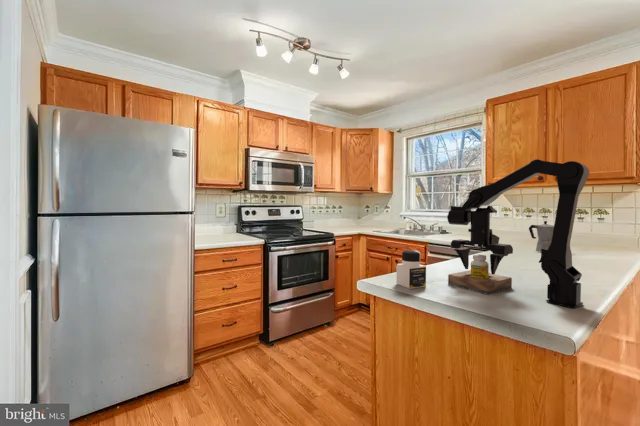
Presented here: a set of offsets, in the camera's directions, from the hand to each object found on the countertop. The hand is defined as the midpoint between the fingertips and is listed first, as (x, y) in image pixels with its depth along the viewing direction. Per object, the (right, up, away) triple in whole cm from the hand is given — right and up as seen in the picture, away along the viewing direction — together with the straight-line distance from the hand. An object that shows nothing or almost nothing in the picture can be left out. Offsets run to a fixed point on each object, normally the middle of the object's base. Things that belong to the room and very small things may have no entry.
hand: (479, 271), depth 103 cm
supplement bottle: (0, -4, 0) cm, 4 cm away
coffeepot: (+79, -3, +78) cm, 111 cm away
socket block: (0, -5, 0) cm, 5 cm away
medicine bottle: (-23, -5, +1) cm, 24 cm away
